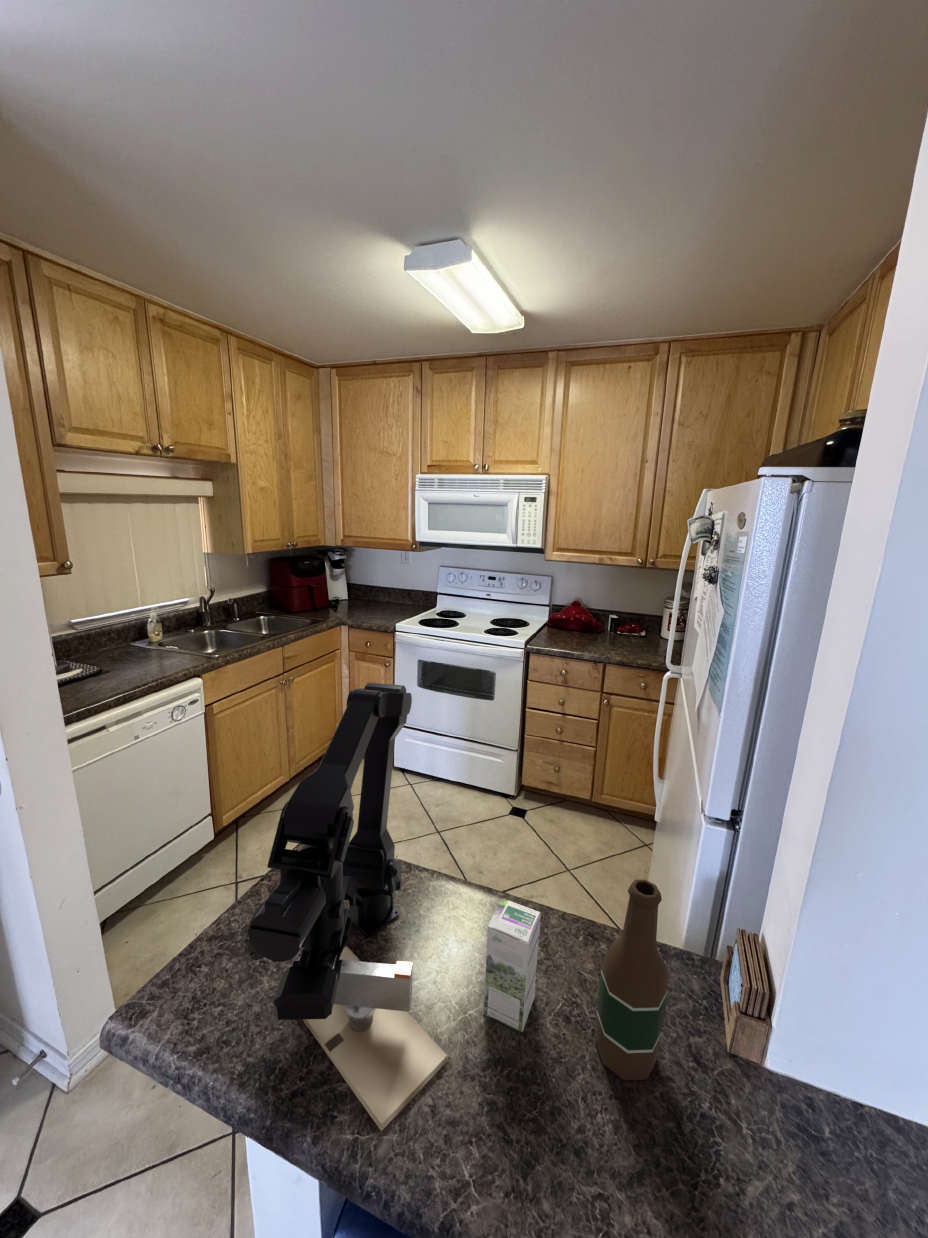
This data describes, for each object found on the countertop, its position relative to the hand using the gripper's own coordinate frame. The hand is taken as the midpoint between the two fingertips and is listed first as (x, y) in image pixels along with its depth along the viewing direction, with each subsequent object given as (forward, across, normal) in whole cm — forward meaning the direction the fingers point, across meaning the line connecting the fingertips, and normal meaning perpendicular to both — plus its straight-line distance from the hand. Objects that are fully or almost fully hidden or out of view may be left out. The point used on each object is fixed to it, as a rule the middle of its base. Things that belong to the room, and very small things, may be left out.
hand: (323, 992), depth 64 cm
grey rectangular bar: (+2, +1, +5) cm, 5 cm away
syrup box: (+5, -2, +25) cm, 25 cm away
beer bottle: (+5, +4, +39) cm, 39 cm away
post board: (+5, +1, +5) cm, 7 cm away
